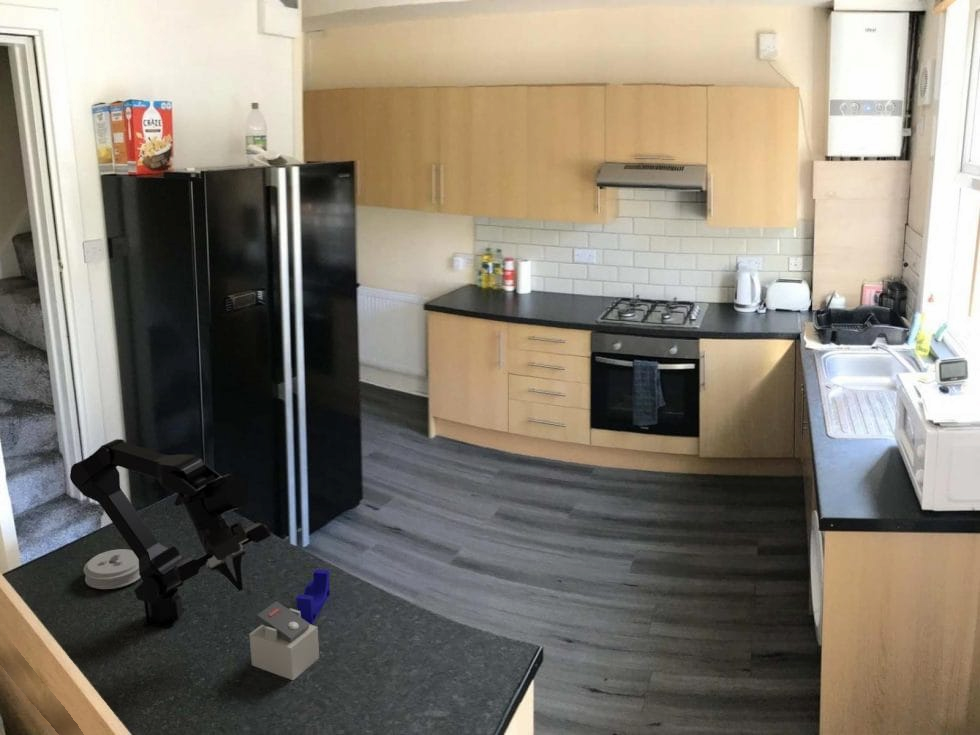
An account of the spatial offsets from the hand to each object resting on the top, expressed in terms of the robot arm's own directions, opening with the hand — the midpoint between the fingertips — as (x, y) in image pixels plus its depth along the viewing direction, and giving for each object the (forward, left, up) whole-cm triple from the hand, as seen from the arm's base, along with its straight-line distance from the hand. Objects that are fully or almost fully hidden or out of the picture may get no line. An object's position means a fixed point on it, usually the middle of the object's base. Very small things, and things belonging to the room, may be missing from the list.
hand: (240, 590), depth 183 cm
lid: (-38, +22, -12) cm, 45 cm away
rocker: (+10, -5, -3) cm, 12 cm away
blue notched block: (+10, +14, -12) cm, 21 cm away
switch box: (+10, -5, -12) cm, 17 cm away
